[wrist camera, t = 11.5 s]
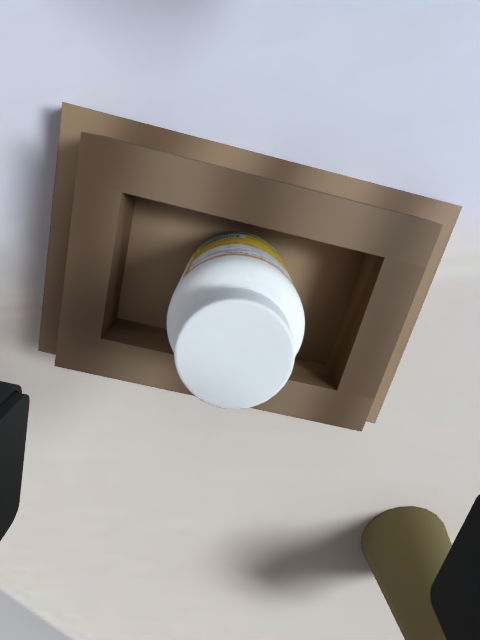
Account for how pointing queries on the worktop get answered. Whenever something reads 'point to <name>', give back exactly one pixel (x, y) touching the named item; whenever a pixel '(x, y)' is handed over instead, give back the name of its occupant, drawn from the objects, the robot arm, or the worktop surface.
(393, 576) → the cork
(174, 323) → the supplement bottle
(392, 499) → the worktop surface
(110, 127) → the brown rectangular recessed tray
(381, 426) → the worktop surface
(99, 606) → the worktop surface
